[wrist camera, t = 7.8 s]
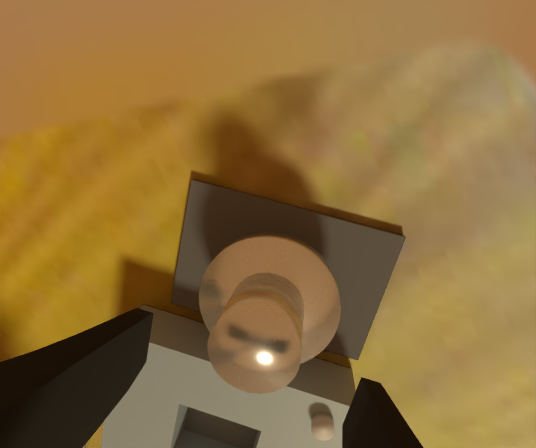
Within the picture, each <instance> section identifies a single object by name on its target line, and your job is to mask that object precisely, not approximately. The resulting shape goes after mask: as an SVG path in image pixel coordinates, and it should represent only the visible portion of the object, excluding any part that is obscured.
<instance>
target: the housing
mask: <svg viewBox="0 0 536 448" xmlns="http://www.w3.org/2000/svg"><path fill="white" fill-rule="evenodd" d="M139 309H142V310H145V311H149V312H152V313H154V315H153V321H152V328H151V334H150V341H149V347H148V354H147V360H146V363H145V365H144V366H143V368H142V370H141V371H140V373H139V374H138V376H137V378H136V379H135V381H134V382H133V384H132V385H131V387H130V389H129V390H128V391H127V393H126V394H125V395H124V396H123V398H122V399H121V400H120V402H119V403H118V404H117V405H116V407H115V408H114V409H113V410H112V412H111V413H110V414H109V415H108V417H107V418H106V419H105V420H104V425H103V434H102V443H101V448H342V425H343V422H344V420H345V417H346V415H347V412H348V410H349V407H350V405H351V402H352V400H353V397H354V395H355V392H356V391H355V385H354V379H353V373H352V369H350V368H347V367H344V366H340V365H337V364H334V363H331V362H328V361H324V360H321V359H318V358H315V357H313V358H312V359H310V360H308V361H306V362H304V363H301V364H300V367H299V370H298V372H297V374H296V376H295V377H294V379H293V380H292V381H291V382H290V383H289V384H288V385H287V386H285V387H283V388H282V389H280V390H277V391H274V392H271V393H264V394H256V393H249V392H245V391H242V390H239V389H237V388H235V387H233V386H231V385H230V384H228V383H227V382H226V381H224V380H223V379H222V378H221V377H220V376H219V375H218V374H217V372H216V371H215V370H214V368H213V366H212V364H211V362H210V360H209V356H208V351H207V344H208V338H209V335H210V332H209V331H208V329H207V327H206V325H205V323H201V322H198V321H195V320H192V319H188V318H185V317H182V316H179V315H175V314H172V313H169V312H166V311H162V310H159V309H156V308H153V307H150V306H146V305H142V306H141V307H140V308H139Z"/></svg>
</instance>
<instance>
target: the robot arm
mask: <svg viewBox="0 0 536 448" xmlns="http://www.w3.org/2000/svg"><path fill="white" fill-rule="evenodd" d="M153 315H154V313H152V312H149V311H145V310H142V309H139V308H136V309H134V310H131V311H129V312H126V313H124V314H122V315H120V316H117V317H115V318H113V319H111V320H109V321H106V322H104V323H102V324H100V325H97V326H95V327H93V328H90V329H88V330H86V331H83V332H81V333H79V334H76V335H74V336H71V337H69V338H66V339H64V340H61V341H59V342H56V343H53V344H51V345H48V346H46V347H43V348H41V349H38V350H35V351H32V352H30V353H27V354H24V355H21V356H18V357H15V358H12V359H9V360H5V361H2V362H0V448H85V444H86V443H87V442H88V440H89V439H90V438H91V437H92V435H93V434H94V433H95V432H96V430H97V429H98V428H99V427H100V425H101V424H102V423H103V422H104V420H105V419H106V418H107V417H108V415H109V414H110V413H111V412H112V410H113V409H114V408H115V407H116V405H117V404H118V403H119V402H120V400H121V399H122V398H123V396H124V395H125V394H126V393H127V391H128V390H129V389H130V387H131V385H132V384H133V382H134V381H135V379H136V378H137V376H138V374H139V373H140V371H141V370H142V368H143V366H144V365H145V363H146V360H147V354H148V347H149V341H150V334H151V328H152V321H153ZM342 448H423V446H422V445H421V443H420V442H419V440H418V439H417V438H416V436H415V435H414V433H413V432H412V430H411V429H410V427H409V426H408V424H407V423H406V421H405V420H404V418H403V417H402V415H401V414H400V412H399V410H398V409H397V407H396V406H395V404H394V403H393V401H392V400H391V398H390V397H389V395H388V394H387V392H386V391H385V389H384V388H383V386H382V385H381V383H378V382H375V381H372V380H369V379H366V378H362V377H361V380H360V382H359V385H358V387H357V390H356V392H355V395H354V397H353V400H352V402H351V405H350V407H349V410H348V412H347V415H346V417H345V420H344V422H343V425H342Z"/></svg>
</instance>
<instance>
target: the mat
mask: <svg viewBox="0 0 536 448" xmlns="http://www.w3.org/2000/svg"><path fill="white" fill-rule="evenodd" d="M264 232H271V233H280V234H285V235H289V236H291V237H294V238H297V239H299V240H301V241H303V242H305V243H306V244H308V245H309V246H311V247H312V248H314V249H315V250H316V251H317V252H318V253H319V254H320V255H321V256H322V257H323V258H324V259H325V260H326V262H327V263H328V265H329V266H330V268H331V269H332V271H333V273H334V275H335V278H336V281H337V284H338V290H339V296H340V303H341V314H340V321H339V324H338V328H337V330H336V333H335V335H334V337H333V338H332V340H331V341H330V343H329V344H328V345H327V346H326V348H325V349H324V350H326V351H329V352H332V353H335V354H339V355H342V356H345V357H348V358H352V359H355V360H358V359H359V356H360V354H361V351H362V348H363V346H364V343H365V341H366V338H367V336H368V333H369V330H370V328H371V325H372V323H373V320H374V318H375V315H376V313H377V310H378V307H379V305H380V302H381V300H382V297H383V295H384V292H385V289H386V287H387V284H388V282H389V279H390V277H391V274H392V271H393V269H394V266H395V264H396V261H397V259H398V256H399V253H400V251H401V248H402V246H403V243H404V241H405V238H406V237H405V236H404V235H401V234H397V233H393V232H389V231H386V230H382V229H378V228H374V227H371V226H367V225H363V224H359V223H356V222H352V221H348V220H345V219H341V218H337V217H333V216H330V215H326V214H322V213H318V212H315V211H311V210H307V209H304V208H300V207H296V206H292V205H289V204H285V203H281V202H277V201H274V200H270V199H266V198H263V197H259V196H255V195H251V194H248V193H244V192H240V191H236V190H233V189H229V188H225V187H222V186H218V185H214V184H210V183H207V182H203V181H199V180H195V179H193V180H191V185H190V191H189V197H188V202H187V208H186V214H185V220H184V226H183V232H182V238H181V244H180V250H179V256H178V262H177V268H176V274H175V280H174V286H173V292H172V298H171V303H172V304H175V305H179V306H182V307H185V308H188V309H192V310H195V311H198V312H201V311H200V305H199V290H200V284H201V281H202V278H203V275H204V273H205V271H206V269H207V268H208V266H209V264H210V263H211V262H212V261H213V260H214V258H215V257H216V256H217V255H218V254H219V253H220V252H221V251H222V250H223V249H224V248H225V247H226V246H227V245H229V244H230V243H232V242H233V241H235V240H237V239H239V238H241V237H244V236H247V235H250V234H255V233H264Z"/></svg>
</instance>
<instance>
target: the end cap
mask: <svg viewBox="0 0 536 448" xmlns="http://www.w3.org/2000/svg"><path fill="white" fill-rule="evenodd" d="M199 305H200V311H201V315H202V318H203V321H204V323H205V325H206V327H207V329H208V331H209V332H210V335H209V338H208V344H207V351H208V356H209V360H210V362H211V364H212V366H213V368H214V370H215V371H216V372H217V374H218V375H219V376H220V377H221V378H222V379H223V380H224V381H226V382H227V383H228V384H230V385H231V386H233V387H235V388H237V389H239V390H242V391H245V392H249V393H256V394H264V393H271V392H274V391H277V390H280V389H282V388H283V387H285V386H287V385H288V384H289V383H290V382H291V381H292V380H293V379H294V377H295V376H296V374H297V372H298V370H299V367H300V364H301V363H304V362H306V361H308V360H310V359H312V358H313V357H315V356H316V355H318V354H319V353H320V352H321V351H323V350H324V349H325V348H326V346H327V345H328V344H329V343H330V341H331V340H332V338H333V337H334V335H335V333H336V330H337V328H338V324H339V321H340V314H341V303H340V296H339V290H338V284H337V281H336V278H335V275H334V273H333V271H332V269H331V268H330V266H329V265H328V263H327V262H326V260H325V259H324V258H323V257H322V256H321V255H320V254H319V253H318V252H317V251H316V250H315V249H314V248H312V247H311V246H309V245H308V244H306V243H305V242H303V241H301V240H299V239H297V238H294V237H291V236H289V235H285V234H280V233H271V232H264V233H255V234H250V235H247V236H244V237H241V238H239V239H237V240H235V241H233V242H232V243H230V244H229V245H227V246H226V247H225V248H224V249H223V250H222V251H221V252H220V253H219V254H218V255H217V256H216V257H215V258H214V260H213V261H212V262H211V263H210V264H209V266H208V268H207V269H206V271H205V273H204V275H203V278H202V281H201V284H200V290H199Z"/></svg>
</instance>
